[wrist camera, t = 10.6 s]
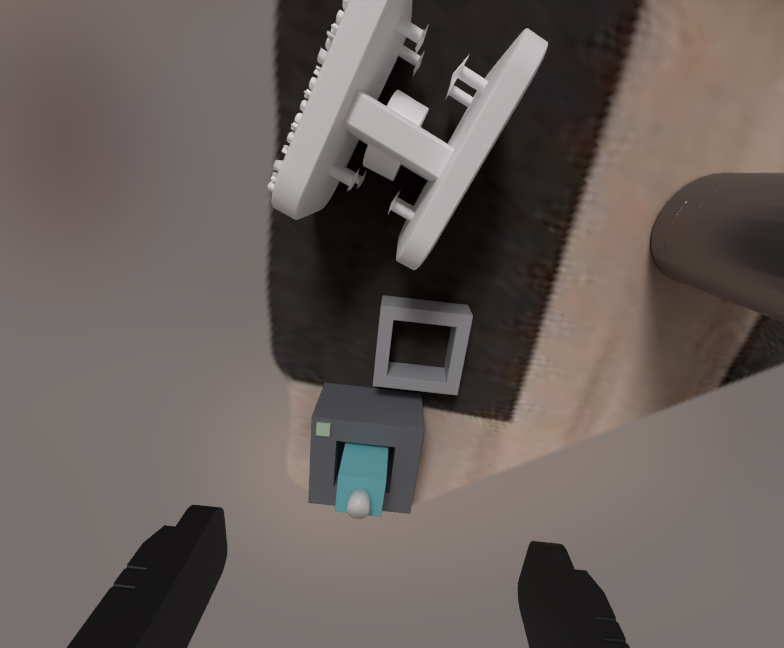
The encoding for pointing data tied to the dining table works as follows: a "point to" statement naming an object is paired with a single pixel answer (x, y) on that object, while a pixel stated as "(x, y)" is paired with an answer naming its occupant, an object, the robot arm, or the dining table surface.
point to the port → (366, 439)
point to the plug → (362, 480)
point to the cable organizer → (394, 122)
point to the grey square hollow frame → (422, 375)
